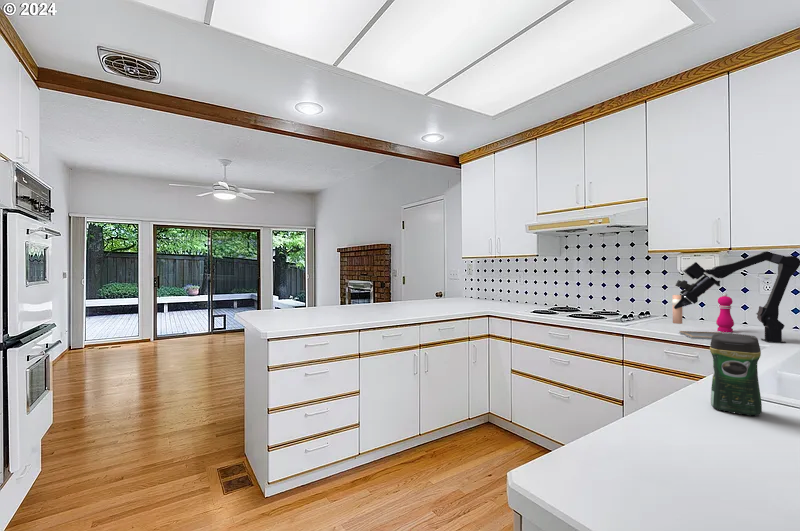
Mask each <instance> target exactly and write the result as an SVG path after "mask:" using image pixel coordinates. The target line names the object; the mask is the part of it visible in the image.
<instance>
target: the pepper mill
mask: <svg viewBox="0 0 800 531" xmlns="http://www.w3.org/2000/svg"><path fill="white" fill-rule="evenodd" d="M717 304H719V305H718V308H719V314H718V317H717V319H716V325H717V326H718V327H717V329H716V330H717V331H716V332H719V331H721V333H728V332H731V333H734V328H733V327H734V326H735V321H734V319H733V317H732V314H731V309H732V304H733V299H732V298H731V297H730V296H728V294H727V293H723V294H722V296H719V297H718V298H717Z"/></svg>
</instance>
